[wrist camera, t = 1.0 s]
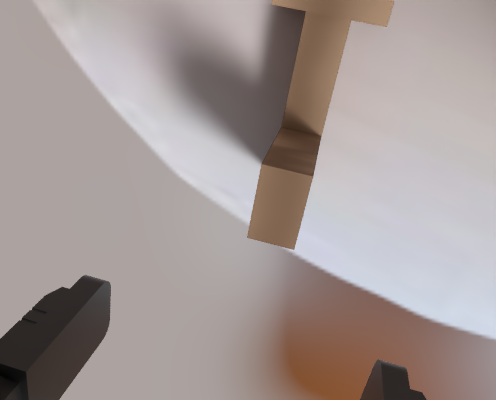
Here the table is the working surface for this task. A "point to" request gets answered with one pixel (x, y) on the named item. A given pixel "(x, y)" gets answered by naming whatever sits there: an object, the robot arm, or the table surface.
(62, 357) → the robot arm
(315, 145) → the wooden t-shaped piece
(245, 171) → the table surface
